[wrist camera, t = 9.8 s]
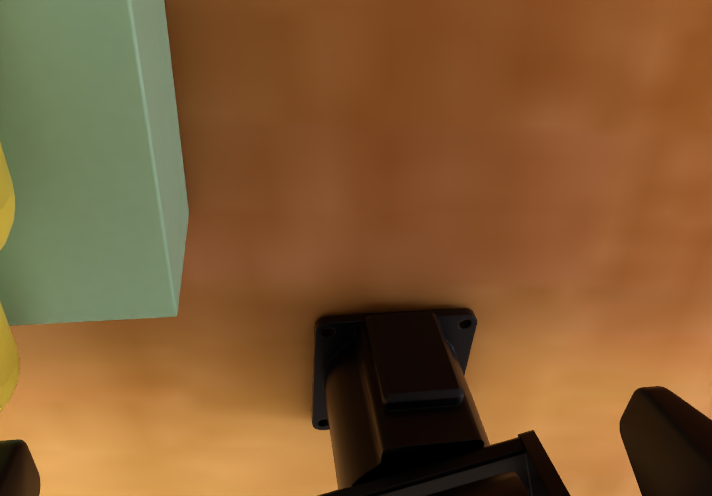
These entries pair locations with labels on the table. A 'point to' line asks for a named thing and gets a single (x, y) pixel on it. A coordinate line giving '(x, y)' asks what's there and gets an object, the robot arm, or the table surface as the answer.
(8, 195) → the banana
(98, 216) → the green block
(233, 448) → the table surface
